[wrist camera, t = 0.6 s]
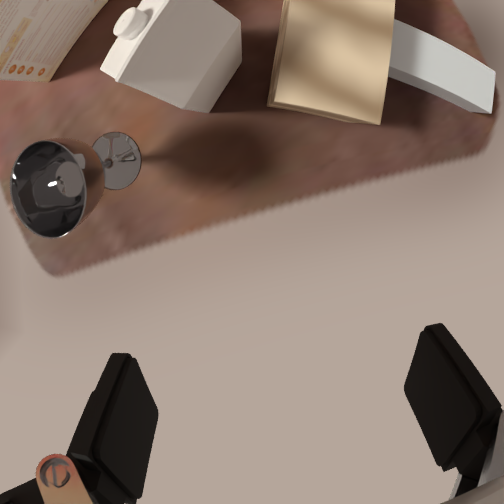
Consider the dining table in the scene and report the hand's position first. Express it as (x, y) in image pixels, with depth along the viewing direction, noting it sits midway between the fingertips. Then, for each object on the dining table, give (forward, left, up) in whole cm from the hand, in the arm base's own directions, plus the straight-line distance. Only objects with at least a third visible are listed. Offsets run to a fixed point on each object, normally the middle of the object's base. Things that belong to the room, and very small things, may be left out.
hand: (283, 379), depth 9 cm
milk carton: (-12, -8, -29) cm, 32 cm away
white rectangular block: (-19, +19, -29) cm, 40 cm away
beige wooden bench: (-19, +5, -29) cm, 35 cm away
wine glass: (-1, -17, -29) cm, 34 cm away
